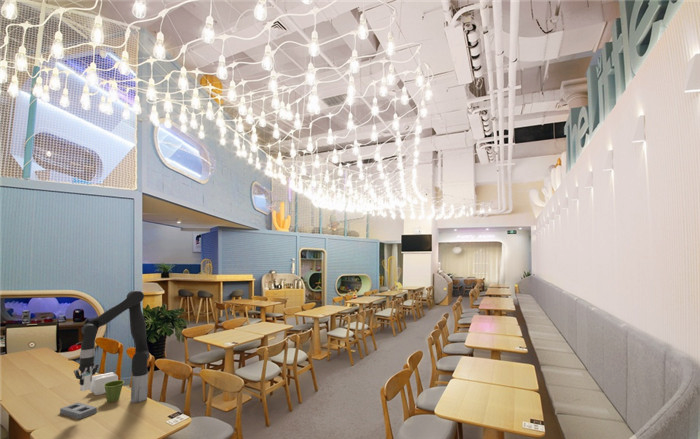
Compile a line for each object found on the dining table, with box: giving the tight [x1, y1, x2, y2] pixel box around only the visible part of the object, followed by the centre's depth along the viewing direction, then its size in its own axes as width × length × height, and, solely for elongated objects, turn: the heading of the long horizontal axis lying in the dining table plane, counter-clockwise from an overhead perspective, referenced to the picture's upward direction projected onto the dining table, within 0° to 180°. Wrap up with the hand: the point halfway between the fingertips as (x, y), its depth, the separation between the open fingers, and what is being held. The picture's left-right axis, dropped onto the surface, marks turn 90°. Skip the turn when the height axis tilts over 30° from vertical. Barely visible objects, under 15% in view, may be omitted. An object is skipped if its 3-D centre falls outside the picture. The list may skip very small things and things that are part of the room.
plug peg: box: [79, 373, 91, 392], centre depth 218 cm, size 4×4×10 cm
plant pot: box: [104, 379, 125, 403], centre depth 237 cm, size 12×12×11 cm
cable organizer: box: [89, 371, 119, 396], centre depth 252 cm, size 15×11×12 cm
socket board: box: [59, 401, 98, 420], centre depth 218 cm, size 20×10×3 cm, turn 67°
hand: (85, 383), depth 218 cm, fingers closed on plug peg, 3 cm apart
